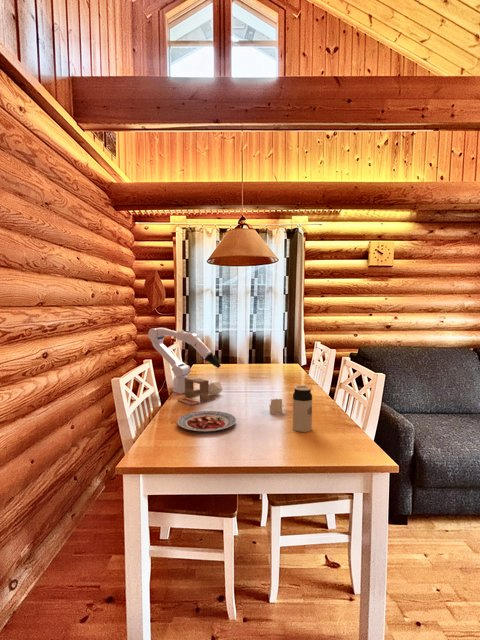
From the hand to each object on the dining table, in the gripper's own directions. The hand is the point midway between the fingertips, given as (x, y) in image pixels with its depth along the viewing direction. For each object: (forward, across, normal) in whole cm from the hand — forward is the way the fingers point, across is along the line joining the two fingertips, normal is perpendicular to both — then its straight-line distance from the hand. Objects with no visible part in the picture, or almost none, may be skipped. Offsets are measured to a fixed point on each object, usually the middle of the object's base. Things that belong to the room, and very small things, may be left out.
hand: (218, 366), depth 202 cm
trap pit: (+5, -10, +24) cm, 27 cm away
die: (+9, +7, +14) cm, 18 cm away
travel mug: (+54, -40, -10) cm, 68 cm away
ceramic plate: (+24, -40, +19) cm, 50 cm away
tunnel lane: (+6, -1, +20) cm, 21 cm away
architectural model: (+41, -20, -6) cm, 46 cm away
